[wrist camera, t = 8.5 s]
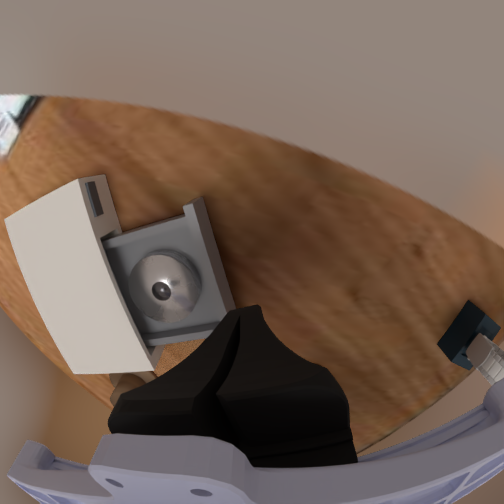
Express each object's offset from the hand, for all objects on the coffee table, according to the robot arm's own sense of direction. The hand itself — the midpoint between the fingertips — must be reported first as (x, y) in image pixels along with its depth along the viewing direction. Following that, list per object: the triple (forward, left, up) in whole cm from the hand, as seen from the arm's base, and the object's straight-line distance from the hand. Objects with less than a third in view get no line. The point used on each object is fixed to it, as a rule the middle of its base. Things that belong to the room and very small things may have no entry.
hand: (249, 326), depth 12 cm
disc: (0, +6, -8) cm, 10 cm away
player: (+2, +14, -9) cm, 16 cm away
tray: (0, +6, -8) cm, 10 cm away
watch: (-13, -19, -9) cm, 25 cm away
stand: (-10, +15, -9) cm, 20 cm away
